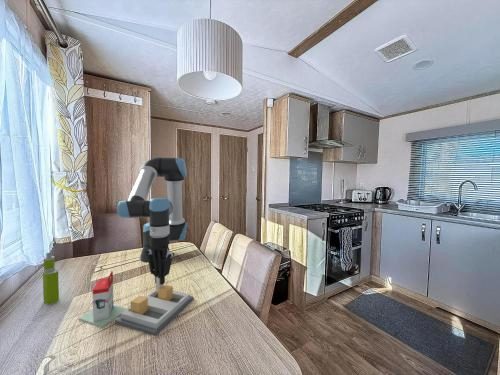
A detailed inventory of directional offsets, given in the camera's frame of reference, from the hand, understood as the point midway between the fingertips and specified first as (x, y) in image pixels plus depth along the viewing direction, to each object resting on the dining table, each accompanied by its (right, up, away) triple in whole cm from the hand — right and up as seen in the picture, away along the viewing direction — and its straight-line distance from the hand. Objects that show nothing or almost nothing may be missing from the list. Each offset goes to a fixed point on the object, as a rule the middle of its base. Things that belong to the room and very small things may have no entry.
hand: (159, 291), depth 87 cm
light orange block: (-4, -4, -9) cm, 10 cm away
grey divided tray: (+2, -5, -5) cm, 7 cm away
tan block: (+3, -3, -1) cm, 4 cm away
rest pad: (-17, -5, -9) cm, 20 cm away
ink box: (-17, -4, -9) cm, 20 cm away
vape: (-45, -4, 0) cm, 45 cm away
